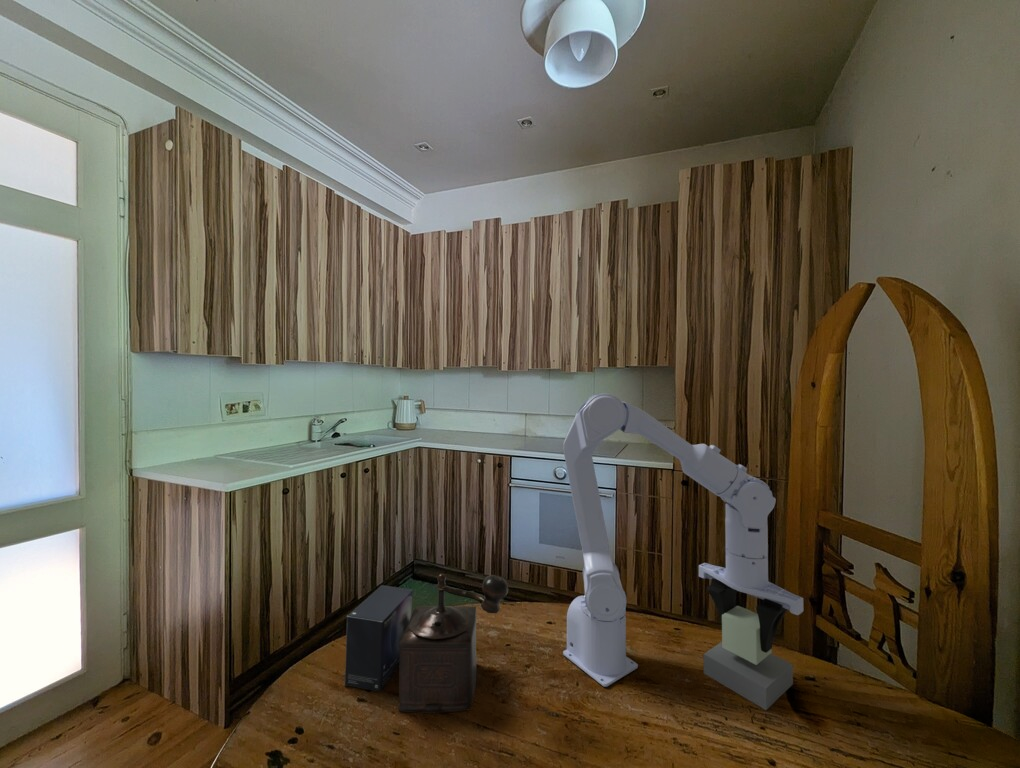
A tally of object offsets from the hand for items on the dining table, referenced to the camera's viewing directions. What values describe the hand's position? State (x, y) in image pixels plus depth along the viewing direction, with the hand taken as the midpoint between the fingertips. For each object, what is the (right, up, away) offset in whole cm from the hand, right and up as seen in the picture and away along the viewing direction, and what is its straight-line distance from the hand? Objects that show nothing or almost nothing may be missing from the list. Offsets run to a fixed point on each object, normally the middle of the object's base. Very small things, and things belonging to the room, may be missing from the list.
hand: (747, 640), depth 62 cm
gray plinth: (0, -6, 0) cm, 6 cm away
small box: (-58, -6, +2) cm, 58 cm away
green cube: (0, -2, 0) cm, 2 cm away
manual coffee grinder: (-45, -6, -2) cm, 45 cm away
